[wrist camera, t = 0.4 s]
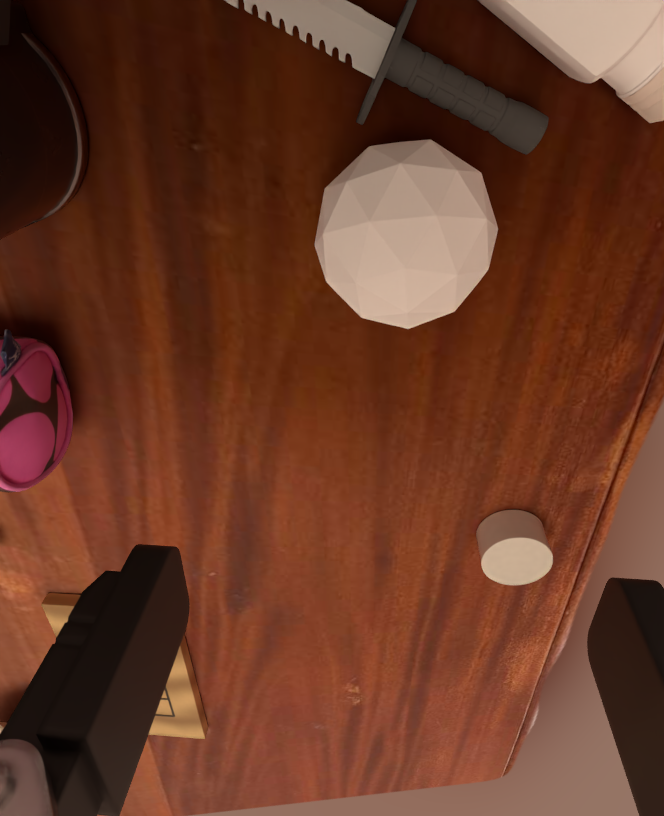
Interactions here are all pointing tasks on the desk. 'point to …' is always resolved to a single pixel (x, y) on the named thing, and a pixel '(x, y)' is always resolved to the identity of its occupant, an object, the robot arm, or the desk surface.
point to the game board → (181, 694)
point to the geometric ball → (405, 232)
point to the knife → (404, 66)
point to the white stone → (513, 547)
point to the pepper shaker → (598, 43)
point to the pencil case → (31, 412)
